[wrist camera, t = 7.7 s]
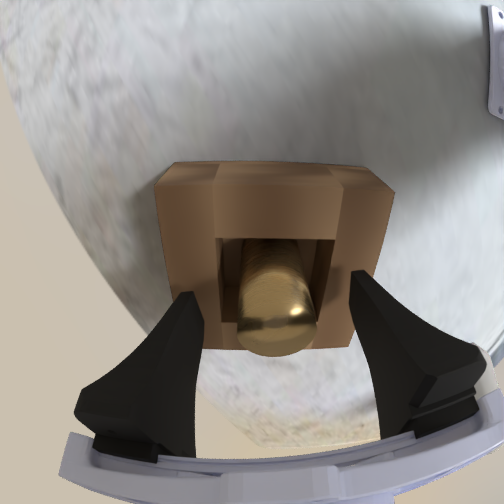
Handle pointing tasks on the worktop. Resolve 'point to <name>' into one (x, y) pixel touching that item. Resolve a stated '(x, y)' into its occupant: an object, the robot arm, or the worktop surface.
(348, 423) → the worktop surface
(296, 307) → the bronze pin
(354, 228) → the hole block
